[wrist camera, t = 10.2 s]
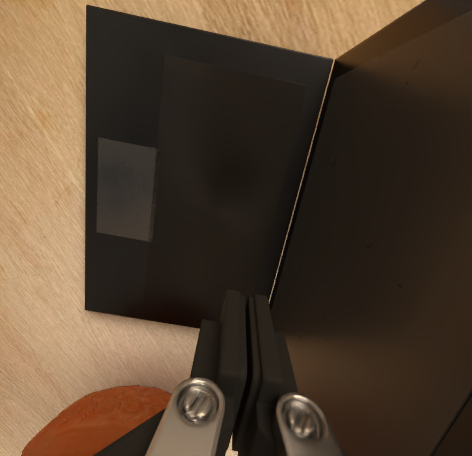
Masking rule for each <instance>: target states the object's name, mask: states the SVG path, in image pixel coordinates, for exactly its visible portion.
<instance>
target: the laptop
mask: <svg viewBox="0 0 472 456" xmlns="http://www.w3.org/2000/svg"><path fill="white" fill-rule="evenodd" d="M332 63H333V59H330V58H326V57H321V56H317V55H312V54H308V53H303V52H299V51H294V50H290V49H285V48H281V47H276V46H271V45H267V44H262V43H258V42H253V41H249V40H244V39H240V38H235V37H231V36H226V35H222V34H217V33H213V32H208V31H204V30H199V29H194V28H190V27H185V26H181V25H176V24H172V23H167V22H163V21H158V20H154V19H149V18H145V17H140V16H136V15H131V14H127V13H122V12H118V11H113V10H108V9H104V8H99V7H95V6H90V5H86V204H85V310H88V311H94V312H100V313H107V314H113V315H119V316H125V317H131V318H137V319H144V320H150V321H156V322H162V323H168V324H175V325H181V326H187V327H193V328H199V329H200V327H201V323H202V319H205V320H211V321H217V322H220V318H221V313H222V308H223V303H224V299H225V294H226V290H227V289H229V290H235V291H240V295H243V296H244V297H245V306H246V302H247V298H248V297H253V294H258V295H263V296H267V297H268V302H269V298H270V294H271V291H272V287H273V283H274V280H275V276H276V272H277V268H278V265H279V261H280V257H281V253H282V250H283V246H284V242H285V238H286V235H287V231H288V227H289V224H290V220H291V216H292V212H293V209H294V205H295V201H296V197H297V194H298V190H299V186H300V182H301V179H302V175H303V171H304V168H305V164H306V160H307V156H308V153H309V149H310V145H311V141H312V138H313V134H314V130H315V127H316V123H317V119H318V115H319V112H320V108H321V104H322V100H323V97H324V93H325V89H326V85H327V82H328V78H329V74H330V71H331V67H332Z"/></svg>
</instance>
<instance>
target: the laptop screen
mask: <svg viewBox="0 0 472 456" xmlns="http://www.w3.org/2000/svg"><path fill="white" fill-rule="evenodd" d="M269 307H270V313H271V318H272V323H273V329H274V331H277V332H282V333H284V335H285V339H286V343H287V347H288V351H289V355H290V360H291V364H292V368H293V372H294V376H295V380H296V385H297V389H298V393H301V394H304V395H306V396H308V397H310V398H311V399H312V400H314V401H315V402H316V403H317V404H318V405H319V406H320V407H321V408H322V410H323V411H324V413H325V415H326V416H327V418H328V421H329V423H330V425H331V427H332V429H333V432H334V434H335V436H336V438H337V440H338V443H339V445H340V447H341V448H342V449H343V450H344V451H345V452H346V453H347V454H348V455H349V456H472V0H425V1H424V2H422V3H421V4H419V5H418V6H416V7H415V8H413V9H412V10H410V11H408V12H407V13H405V14H404V15H402V16H401V17H399V18H398V19H396V20H395V21H393V22H392V23H390V24H389V25H387V26H386V27H384V28H383V29H381V30H380V31H378V32H377V33H375V34H373V35H372V36H370V37H369V38H367V39H366V40H364V41H363V42H361V43H360V44H358V45H357V46H355V47H354V48H352V49H351V50H349V51H348V52H346V53H345V54H343V55H341V56H340V57H338V58H337V59H336V60H335V62H334V66H333V70H332V74H331V77H330V81H329V85H328V88H327V92H326V96H325V100H324V103H323V107H322V111H321V114H320V118H319V122H318V125H317V129H316V133H315V137H314V140H313V144H312V148H311V151H310V155H309V159H308V163H307V166H306V170H305V174H304V177H303V181H302V185H301V188H300V192H299V196H298V200H297V203H296V207H295V211H294V214H293V218H292V222H291V226H290V229H289V233H288V237H287V240H286V244H285V248H284V251H283V255H282V259H281V263H280V266H279V270H278V274H277V277H276V281H275V285H274V288H273V292H272V296H271V300H270V303H269Z"/></svg>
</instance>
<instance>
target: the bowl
mask: <svg viewBox="0 0 472 456" xmlns="http://www.w3.org/2000/svg"><path fill="white" fill-rule="evenodd" d="M171 396H172V394H169V393H167V392H165V391H162V390H159V389H156V388H155V387H140V386H122V387H115V388H110V389H106V390H102V391H100V392H93V393H91V394H88V395H86V396H84V397H83V398H81V399H80V400H78V401H76V402H75V403H73V404H72V405H71V406H69V407H68V408H66V409H65V410H63V411H62V412H61V413H60V414H59V415H58V416H57V417H56V418H54V419H53V420H52V421H51V422H50V423H49V424H48V425H46V426H45V427H44V428H43V429H42V430H41V431H40V432H39V433H38V434H37V435H36V436H35V437H34V438H33V439H32V440H31V441H30V442H29V443H28V444H27V445H26V447H25V448H24V450H23V451H22V455H21V456H93V455H94V454H96V453H97V452H99V451H100V450H102V449H103V448H105V447H107V446H108V445H110V444H111V443H113V442H114V441H116V440H117V439H119V438H120V437H122V436H123V435H125V434H126V433H128V432H129V431H131V430H133V429H134V428H136V427H137V426H139V425H140V424H142V423H143V422H145V421H146V420H148V419H149V418H151V417H152V416H154V415H155V414H157V413H159V412H160V411H162V410H163V409H165V408H166V407H167V405H168V403H169V400H170V398H171Z"/></svg>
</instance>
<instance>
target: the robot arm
mask: <svg viewBox="0 0 472 456" xmlns="http://www.w3.org/2000/svg"><path fill="white" fill-rule="evenodd" d="M231 436H232V450H233V451H238V456H349V455H348V454H347V453H346V452H345V451H344V450H343V449H342V448H341V447H340V445H339V443H338V440H337V438H336V436H335V434H334V432H333V429H332V427H331V425H330V423H329V421H328V418H327V416H326V415H325V413H324V411H323V410H322V408H321V407H320V406H319V405H318V404H317V403H316V402H315V401H314V400H312V399H311V398H310V397H308V396H306V395H304V394H301V393H298V389H297V385H296V380H295V376H294V372H293V368H292V364H291V360H290V355H289V351H288V347H287V343H286V339H285V335H284V333H282V332H277V331H274V329H273V323H272V318H271V313H270V307H269V302H268V297H267V296H263V295H258V294H253V297H248V298H247V302H246V306H245V297H244V296H243V295H240V291H235V290H229V289H227V290H226V294H225V299H224V303H223V308H222V313H221V318H220V322H217V321H211V320H205V319H202V323H201V327H200V332H199V337H198V342H197V346H196V351H195V356H194V361H193V366H192V370H191V375H190V378H189V379H187V380H185V381H183V382H182V383H180V384H179V385H178V386H177V387H176V389H175V390H174V392H173V393H172V396H171V398H170V400H169V403H168V405H167V407H166V408H165V409H163V410H162V411H160V412H159V413H157V414H155V415H154V416H152V417H151V418H149V419H148V420H146V421H145V422H143V423H142V424H140V425H139V426H137V427H136V428H134V429H133V430H131V431H129V432H128V433H126V434H125V435H123V436H122V437H120V438H119V439H117V440H116V441H114V442H113V443H111V444H110V445H108V446H107V447H105V448H103V449H102V450H100V451H99V452H97V453H96V454H94V455H93V456H225V454H226V450H228V447H229V443H230V439H231Z"/></svg>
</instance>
